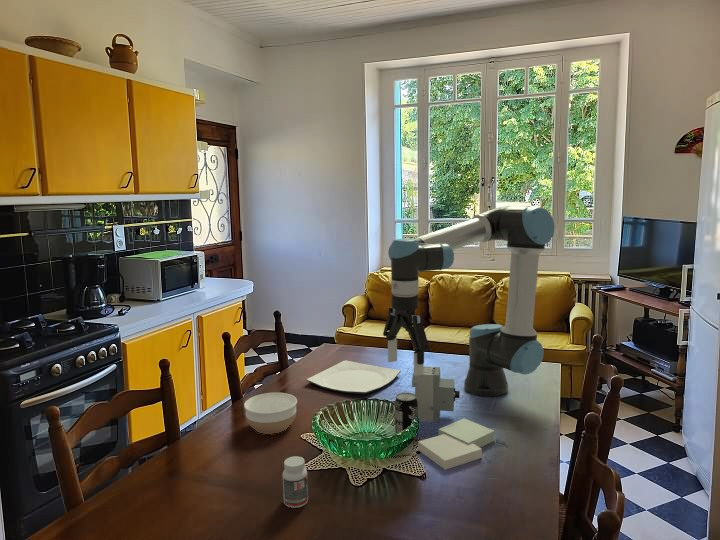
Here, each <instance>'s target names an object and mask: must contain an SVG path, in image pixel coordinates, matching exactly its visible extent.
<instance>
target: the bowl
mask: <svg viewBox="0 0 720 540" xmlns="http://www.w3.org/2000/svg"><path fill="white" fill-rule="evenodd" d="M297 404H298V399H297V397H296V396H294V395H293V394H290V393H286V392H285V393H284V392H266V393H261V394H260V393H259V394H256V395H254V396H252V397H249V398H248V399H247V400H246V401H245V402H244V404H243V408H244V410H245V418H246V422H247V423H248V425H249V426H250V427H251V428H252V429H253V430H254V429H255V430H256V431H257V432H260V433H265V434H271V435H273V434H272V433H278V434H280V433H279V432H281V433H283V432H282V431H284V430H285V431H287V430H288V429H289V428H290V426H291V424H292V423H293V422H294V420H295V418H296V416H297ZM289 425H290V426H289ZM288 427H289V428H288ZM287 428H288V429H287ZM286 429H287V430H286ZM255 430H254V431H255ZM256 431H255V432H256ZM285 431H284V432H285ZM257 432H256V433H257ZM260 433H259V434H260ZM265 434H264V435H265Z"/></svg>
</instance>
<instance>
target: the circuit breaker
mask: <svg viewBox="0 0 720 540" xmlns="http://www.w3.org/2000/svg"><path fill="white" fill-rule="evenodd" d="M411 387H412V388H414V394H415V395H416V399H417V401H418V418H419V420H420V421H419V422H429V423H431V422H432V423H439V422H440V415H441V412H443V411H444V412H454V410H455V401H456V399H460V393H461V391H460V390H456V388H455V379H454V378H441V367H440V366H425V365H424V368H423V375H418V376H414V371H413V372H412V378H411Z"/></svg>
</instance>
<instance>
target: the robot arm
mask: <svg viewBox="0 0 720 540" xmlns="http://www.w3.org/2000/svg"><path fill="white" fill-rule="evenodd" d="M554 235H555V221H554V219H553V215H552V214H550V212H549V210H548V209H546V208H544V207H542V206H535V205H534V206H533V205H530V206H529V205H520V206H519V205H505V206H499V207H495V208H493V209H490V210H487V211H484V212H481V213H478V214H475V215H473V216H472V218H471V219H469V220H466V221H464V222H463V221H462V222H460V223H457V224H455V225H451V226H448V227H444V228H442V229H438V230H436V231H433V232H430V233H426V234H423V235H420V236H417V237H415V238H396V239H394V240H392V241H391V244H390V246H389V247H388V259H389V260H390V265H391V266H390V268H391V269H390V270H391V271H390V272H391V275H390V276H391V278H390V279H391V284H390V287H391V294H392V295H391V307H388V315H387V319H386V321H385V325H384V329H383V332H382V334H383V335H382V336H384V337H385V338H386V340H387V363H393V362H398V337H397V336H398V333H400V330H401V329H402V328H403V329H405V331H406V332H407V333H408V335H409V338H410V340H411V343H412V345H413V348H414V351H413V372H414V376H418V375H423V368H424V366H425V365H424V364H425V353H426V352H429V351H430V346H429V342H428V339H427V334H426V331H425V328H424V327H425V326H424V323H423V322H424V321H423V320H424V319H423V315H421V314H420V315H419V314H418V315H416V310H417V309H419V296H418V294H419V289H420V288H419V276H420V275H419V274H420V273H422V272H433V271H442V270H447V269H450V268H451V267H452V265H453V264H454V261H455V252H454V250H457V249H460V248H463V247H465V246H469V245H472V244H475V243H476V242H479V243H486V242H489V241H506V242H507V243H506V248H507V249H508V250H509V252H510V263H509V264H510V265H509V276H508V277H509V278H508V292H507V302H506V314H505V315H506V316H505V324H504V326H503V325H502V324H498V323H495V324H494V323H486V324H478V325H474V326H472V327H471V328H470V330H469V337H468V338H469V339H468V340H469V341H468V342H469V343H468V344H469V347H468V349H469V351H468V352H469V357H468V358H469V359H468V360H469V364H468V365H469V367H468V370H467V374H466V377H465V379H464V384H463V385H464V387H463V388H464V390H465V391H466V392H468V393H469V394H472V395H475V396H479V397H480V396H481V397H499V396H503V395H505V394H507V393H508V391H509V383H508V381H507V377H506V374H505V370H504V369H506V370H507V371H511V373H512V372H513V373H515V374H520V375H529V374H532V373H533V372H535V371H536V370H537V369H538V368H539V367H540V365H541V364H542V361H543V358H544V355H545V354H544V347H543V345H542V343H541V342H539V341H538V339H537V338H538V332H537V331H536V330H535V329H534V316H535V305H536V293H537V284H538V283H537V282H538V273H539V261H540V260H539V258H540V254H541V253H542V252H544V251H545V249H546V248H545V247H546V244H548V243H549V242H551V241H552V238H553V237H554Z"/></svg>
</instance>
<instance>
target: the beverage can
mask: <svg viewBox="0 0 720 540" xmlns="http://www.w3.org/2000/svg"><path fill="white" fill-rule="evenodd" d="M416 417H417V418H418V401H417V399H416V395H415V393H412V392H400V393H397V394H396V396H395V399H394V434H395V433H399V432H401V431H403V430H404V429H406V428H407V427H408V426H410V425H411V423H412V421H413V420H414V419H415V418H416ZM418 434H419V432H418V433H417V435H416V437H417V436H418Z"/></svg>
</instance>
